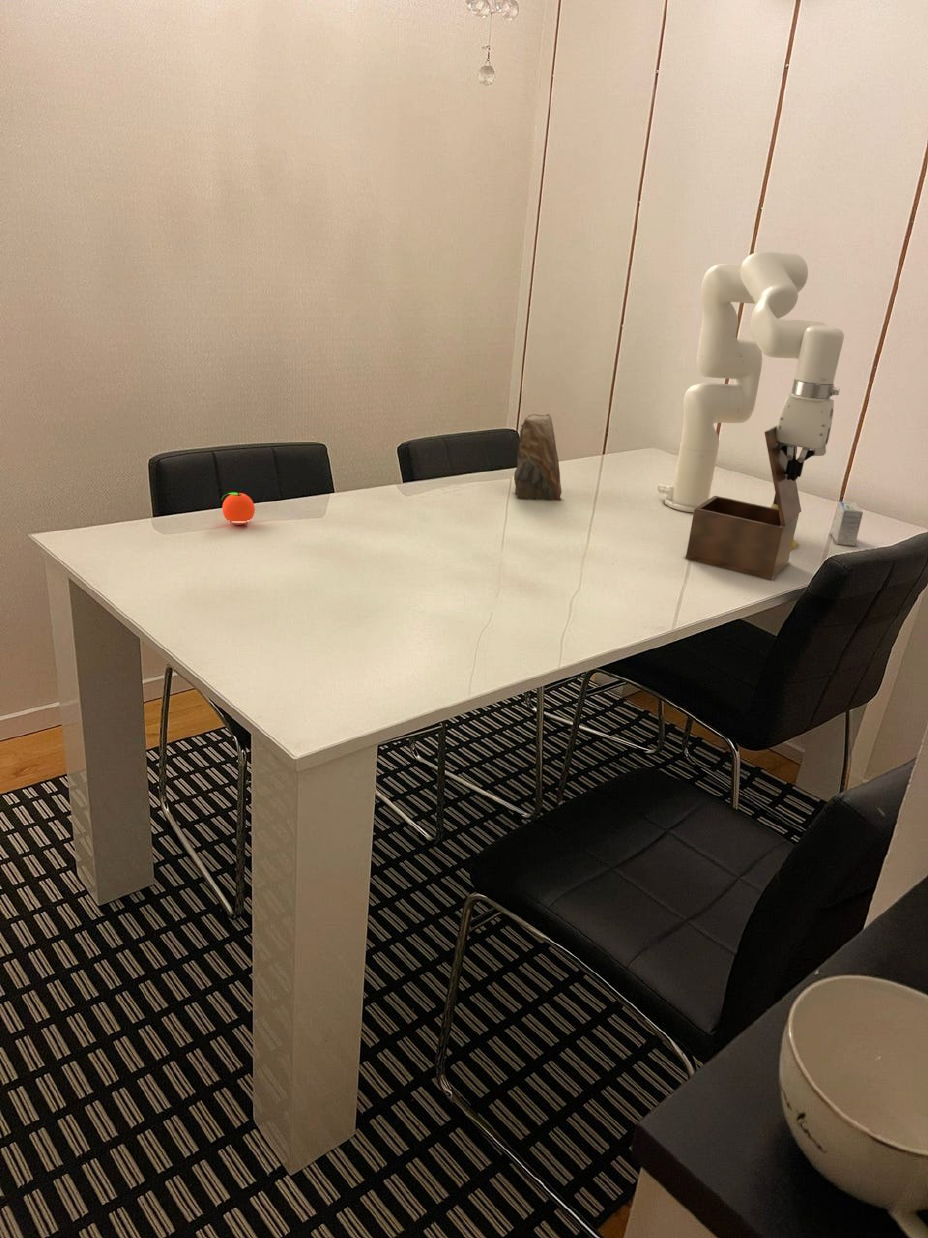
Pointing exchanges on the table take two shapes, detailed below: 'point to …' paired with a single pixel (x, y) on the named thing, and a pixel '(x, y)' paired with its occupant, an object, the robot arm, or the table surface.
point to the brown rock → (537, 460)
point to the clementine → (238, 508)
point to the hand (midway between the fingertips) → (792, 478)
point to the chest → (740, 537)
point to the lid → (782, 480)
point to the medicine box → (847, 523)
